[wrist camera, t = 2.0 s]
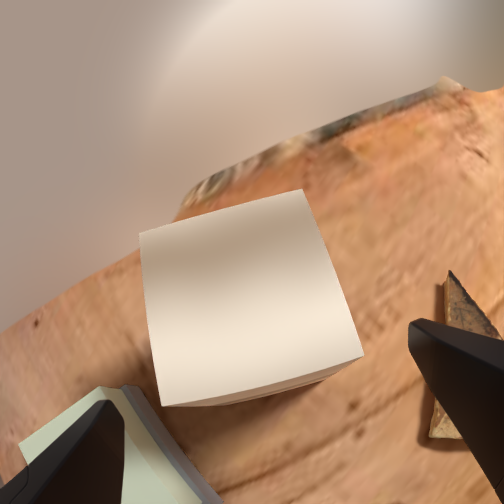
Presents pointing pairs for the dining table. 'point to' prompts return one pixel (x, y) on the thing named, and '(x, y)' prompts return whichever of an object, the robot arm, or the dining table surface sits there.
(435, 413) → the shard
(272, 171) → the dining table surface
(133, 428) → the tower top slab
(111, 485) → the robot arm
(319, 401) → the dining table surface
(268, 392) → the maple column
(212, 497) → the tower bottom slab
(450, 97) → the dining table surface
